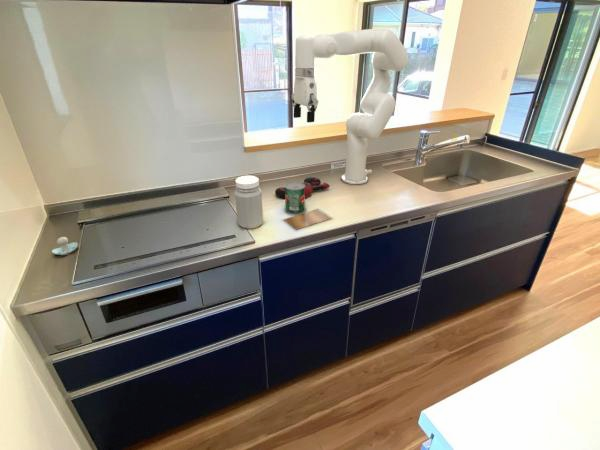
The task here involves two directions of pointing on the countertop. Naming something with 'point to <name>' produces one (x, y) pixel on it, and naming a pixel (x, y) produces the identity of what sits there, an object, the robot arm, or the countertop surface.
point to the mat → (306, 219)
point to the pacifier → (64, 247)
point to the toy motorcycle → (310, 186)
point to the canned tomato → (295, 198)
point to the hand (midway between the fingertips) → (303, 119)
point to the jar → (248, 202)
